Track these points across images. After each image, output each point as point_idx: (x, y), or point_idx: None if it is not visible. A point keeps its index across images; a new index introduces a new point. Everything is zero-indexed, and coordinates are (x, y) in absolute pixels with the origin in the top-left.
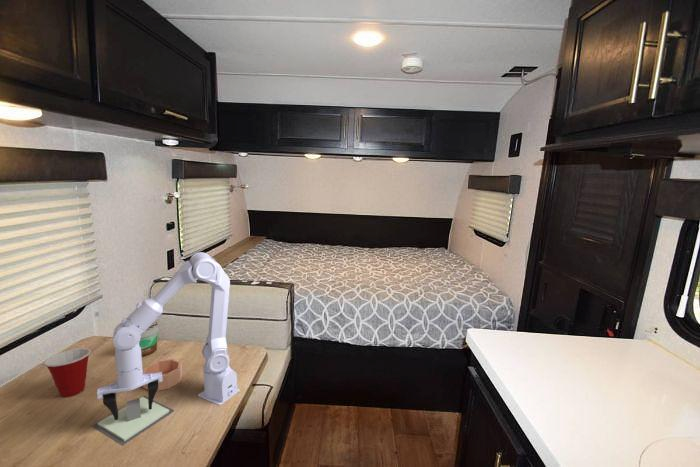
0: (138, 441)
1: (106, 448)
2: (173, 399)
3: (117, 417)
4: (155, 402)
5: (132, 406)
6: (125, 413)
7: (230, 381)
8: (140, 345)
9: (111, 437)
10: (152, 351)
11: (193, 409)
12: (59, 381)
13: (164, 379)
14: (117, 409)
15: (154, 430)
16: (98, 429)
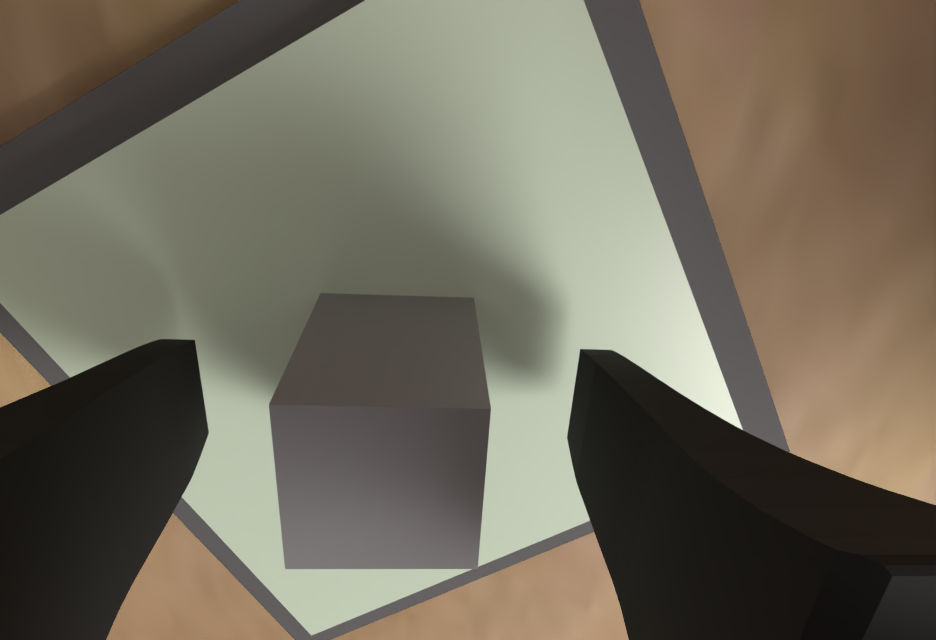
0: (421, 634)
1: (181, 595)
2: (873, 193)
3: (192, 463)
4: (671, 158)
5: (373, 565)
6: (289, 240)
7: None
8: None
9: (195, 525)
10: None
11: (927, 492)
12: None
13: None
14: (152, 382)
15: (552, 581)
16: (16, 339)
